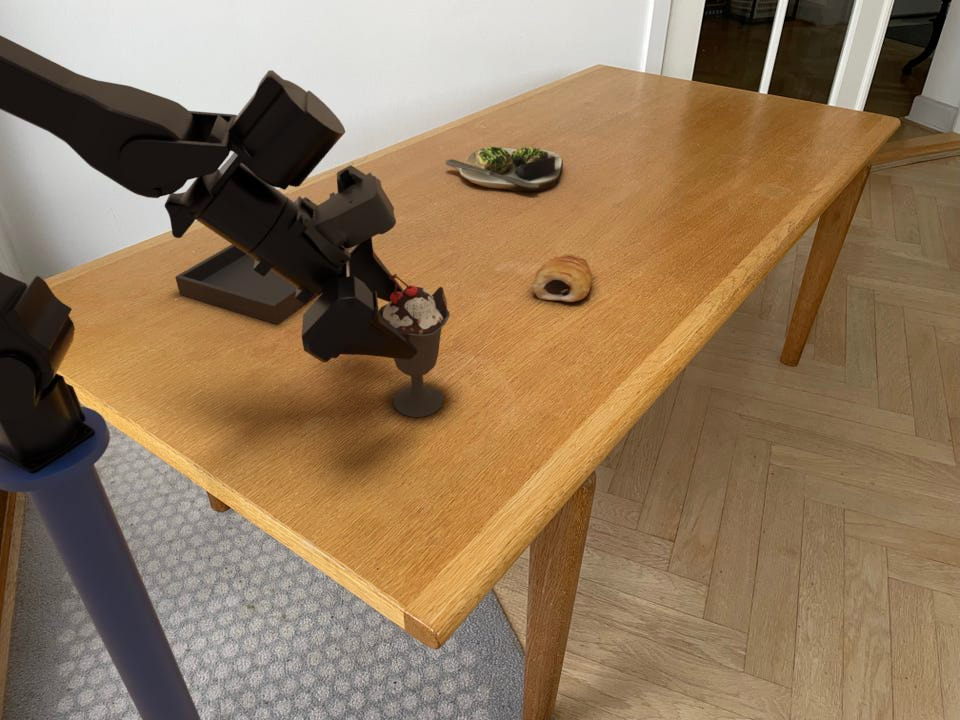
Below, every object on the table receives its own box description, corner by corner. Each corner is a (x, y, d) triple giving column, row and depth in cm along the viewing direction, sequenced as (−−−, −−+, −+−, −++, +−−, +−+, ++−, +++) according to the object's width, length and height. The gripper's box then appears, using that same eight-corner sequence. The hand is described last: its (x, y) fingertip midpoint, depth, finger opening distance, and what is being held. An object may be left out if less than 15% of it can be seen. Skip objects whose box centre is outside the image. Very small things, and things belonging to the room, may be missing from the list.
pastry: (549, 264, 95) (551, 238, 93) (599, 273, 94) (602, 246, 91) (529, 299, 88) (531, 271, 86) (583, 309, 86) (587, 280, 84)
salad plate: (433, 189, 116) (432, 161, 114) (459, 152, 131) (458, 126, 128) (552, 200, 113) (554, 171, 110) (566, 160, 127) (568, 134, 125)
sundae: (374, 417, 70) (360, 281, 61) (397, 377, 75) (387, 246, 66) (440, 428, 68) (435, 290, 60) (459, 386, 74) (456, 254, 65)
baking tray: (277, 324, 83) (273, 306, 82) (179, 294, 89) (174, 276, 87) (353, 268, 94) (351, 251, 93) (262, 245, 100) (259, 228, 99)
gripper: (327, 198, 49) (488, 322, 57) (329, 116, 64) (456, 223, 72) (230, 309, 52) (394, 411, 60) (254, 206, 67) (382, 298, 75)
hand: (409, 326), depth 67 cm, fingers open, 9 cm apart
